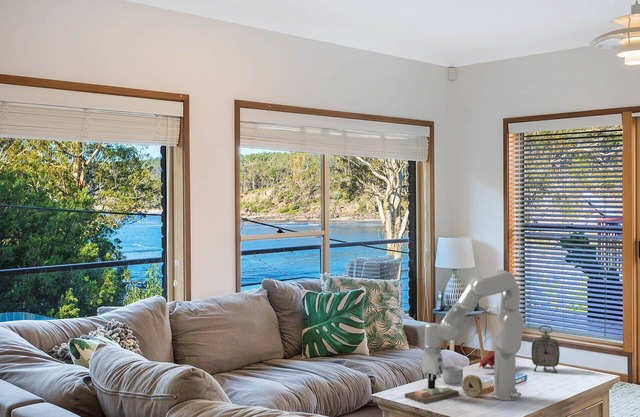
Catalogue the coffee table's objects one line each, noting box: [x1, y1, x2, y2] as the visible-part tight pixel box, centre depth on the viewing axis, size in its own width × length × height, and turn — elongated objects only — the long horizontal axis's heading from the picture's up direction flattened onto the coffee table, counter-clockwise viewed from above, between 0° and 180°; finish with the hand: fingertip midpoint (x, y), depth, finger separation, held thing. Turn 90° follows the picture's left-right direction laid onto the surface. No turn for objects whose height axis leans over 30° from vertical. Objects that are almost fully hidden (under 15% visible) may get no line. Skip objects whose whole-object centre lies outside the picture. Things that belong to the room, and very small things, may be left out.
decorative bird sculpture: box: [478, 350, 495, 370], centre depth 384 cm, size 28×9×15 cm
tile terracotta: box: [414, 389, 428, 397], centre depth 327 cm, size 4×4×2 cm
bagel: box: [461, 374, 484, 398], centre depth 332 cm, size 10×4×10 cm, turn 43°
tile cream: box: [435, 384, 450, 392], centre depth 335 cm, size 4×4×2 cm
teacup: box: [441, 364, 464, 385], centre depth 356 cm, size 14×11×8 cm
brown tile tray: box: [404, 386, 460, 404], centre depth 331 cm, size 12×24×2 cm, turn 127°
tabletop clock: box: [530, 324, 560, 374], centre depth 381 cm, size 14×9×25 cm, turn 73°
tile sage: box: [424, 387, 439, 395], centre depth 331 cm, size 4×4×2 cm
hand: (431, 388), depth 331 cm, fingers closed
